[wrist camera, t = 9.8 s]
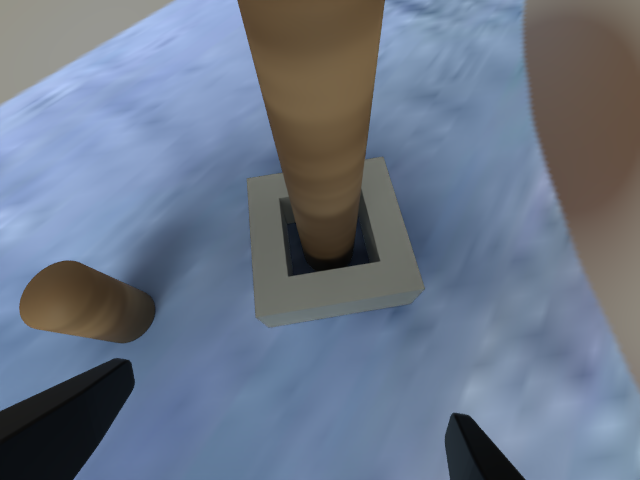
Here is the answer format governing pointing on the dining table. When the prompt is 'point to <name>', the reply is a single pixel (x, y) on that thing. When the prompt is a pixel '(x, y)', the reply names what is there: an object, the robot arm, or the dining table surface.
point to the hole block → (337, 284)
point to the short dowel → (85, 304)
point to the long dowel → (318, 109)
